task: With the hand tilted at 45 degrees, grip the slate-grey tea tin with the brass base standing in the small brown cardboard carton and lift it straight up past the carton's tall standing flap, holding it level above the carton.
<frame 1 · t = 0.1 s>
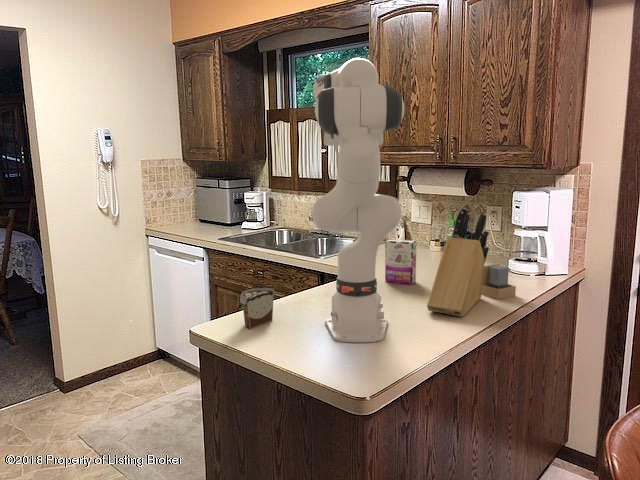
hand: (353, 159, 180), 48 cm above the worktop, tool pointing down, fingers open, 8 cm apart
carton: (497, 294, 187), on the worktop
tea tin: (497, 294, 187), resting in carton
candy bar box: (400, 282, 206), on the worktop
knife block: (459, 303, 179), on the worktop
food container: (254, 323, 161), on the worktop
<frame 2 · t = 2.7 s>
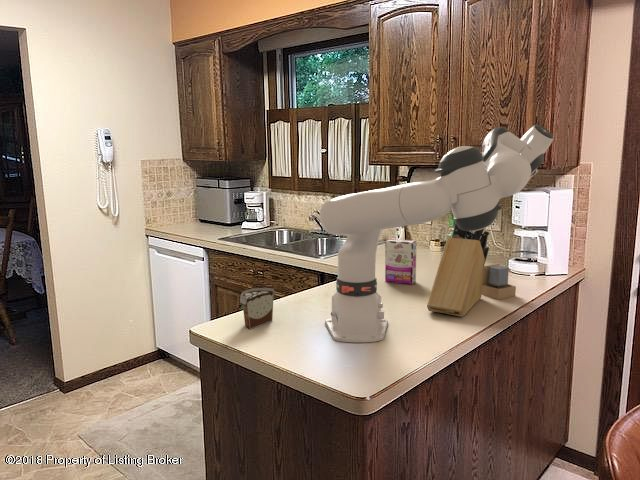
hand: (493, 194, 186), 35 cm above the worktop, tool tilted 45°, fingers open, 8 cm apart
nothing on the worktop moved.
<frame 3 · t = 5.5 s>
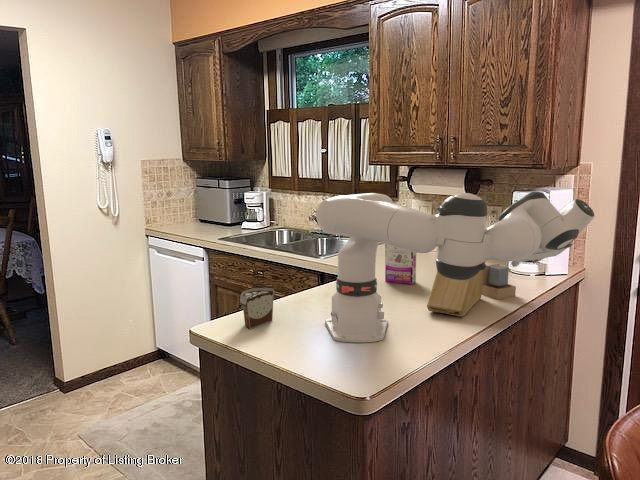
hand: (523, 263, 176), 13 cm above the worktop, tool tilted 45°, fingers open, 8 cm apart
nothing on the worktop moved.
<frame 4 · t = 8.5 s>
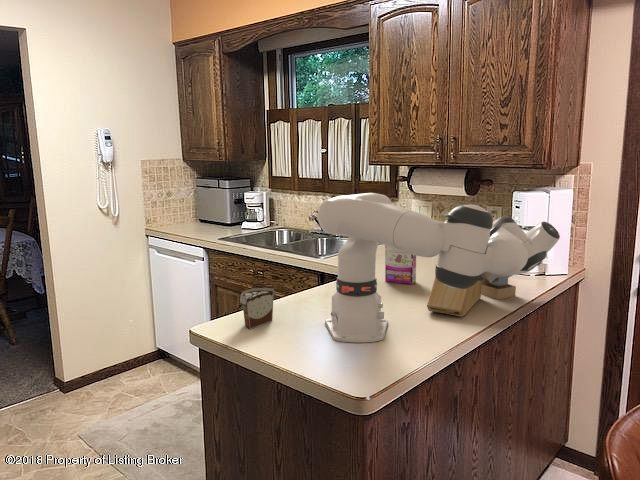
hand: (496, 279, 186), 5 cm above the worktop, tool tilted 45°, fingers closed on tea tin, 5 cm apart
tea tin: (497, 294, 187), resting in carton, touching gripper
everything else where it was.
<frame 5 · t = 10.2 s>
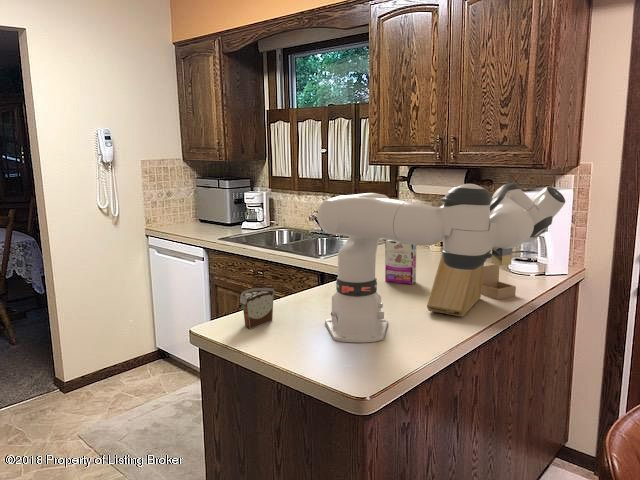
hand: (500, 248, 184), 17 cm above the worktop, tool tilted 45°, fingers closed on tea tin, 5 cm apart
tea tin: (501, 263, 185), point 11 cm above the worktop, touching gripper
everything else where it was.
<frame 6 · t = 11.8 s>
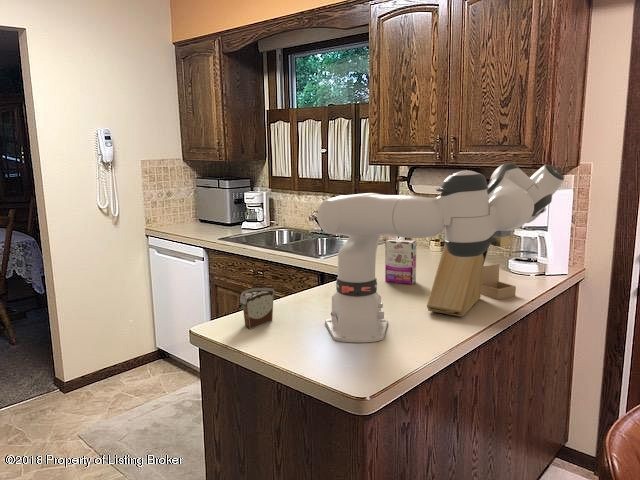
hand: (499, 229, 183), 23 cm above the worktop, tool tilted 45°, fingers closed on tea tin, 5 cm apart
tea tin: (500, 245, 184), point 18 cm above the worktop, touching gripper
everything else where it was.
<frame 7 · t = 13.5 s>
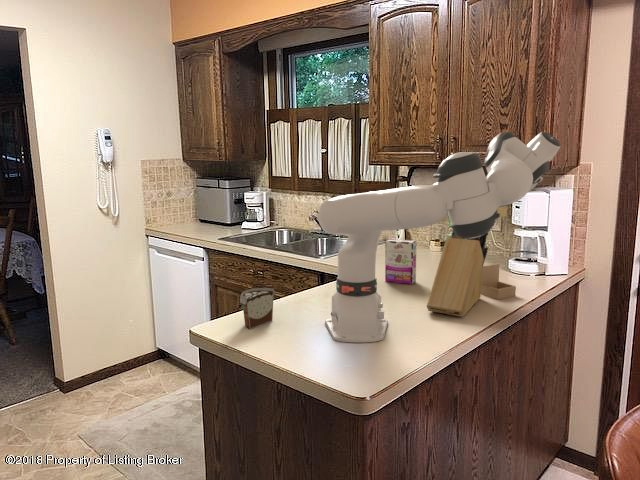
hand: (496, 200, 183), 33 cm above the worktop, tool tilted 45°, fingers closed on tea tin, 5 cm apart
tea tin: (496, 216, 184), point 28 cm above the worktop, touching gripper
everything else where it was.
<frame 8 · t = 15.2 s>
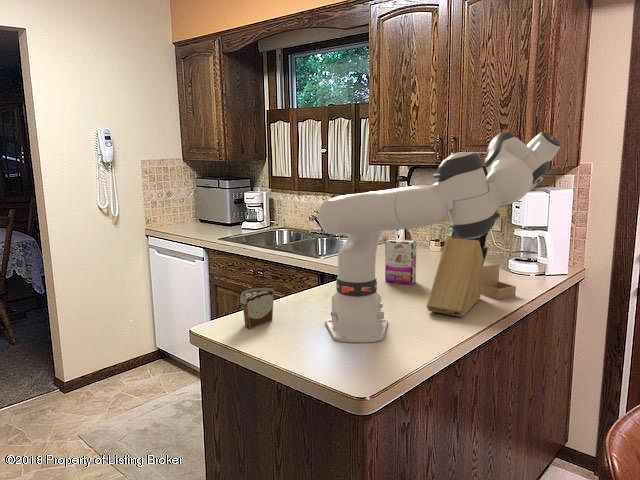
hand: (496, 200, 183), 33 cm above the worktop, tool tilted 45°, fingers closed on tea tin, 5 cm apart
tea tin: (496, 216, 184), point 28 cm above the worktop, touching gripper
everything else where it was.
at the end: the gripper is holding tea tin; tea tin point 27.8 cm above the worktop; tea tin tilted 0° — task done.
